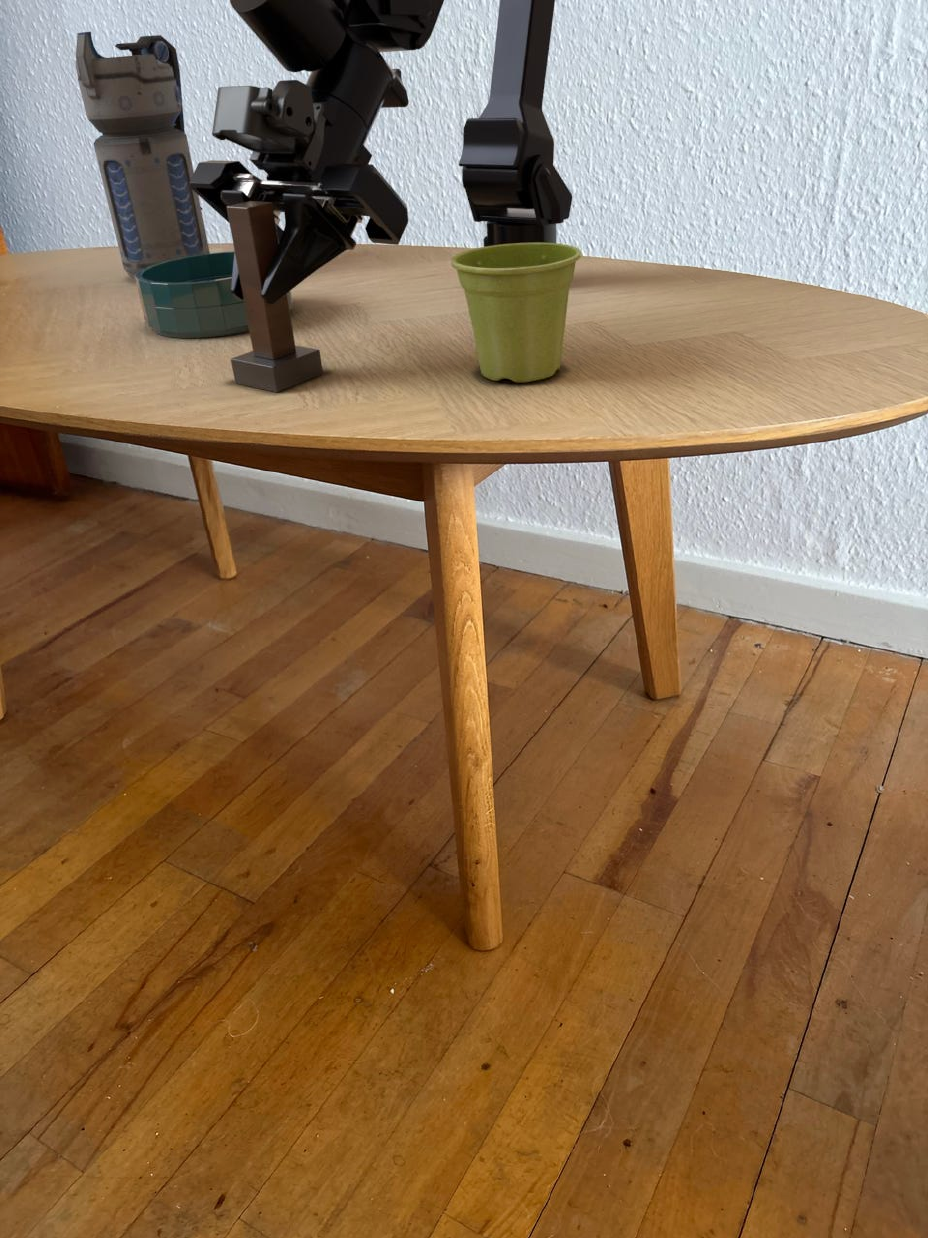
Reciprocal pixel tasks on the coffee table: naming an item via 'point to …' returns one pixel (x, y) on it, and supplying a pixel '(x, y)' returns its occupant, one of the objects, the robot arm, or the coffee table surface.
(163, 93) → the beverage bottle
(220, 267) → the bowl
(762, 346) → the coffee table surface
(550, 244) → the plant pot
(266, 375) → the brown post on base
